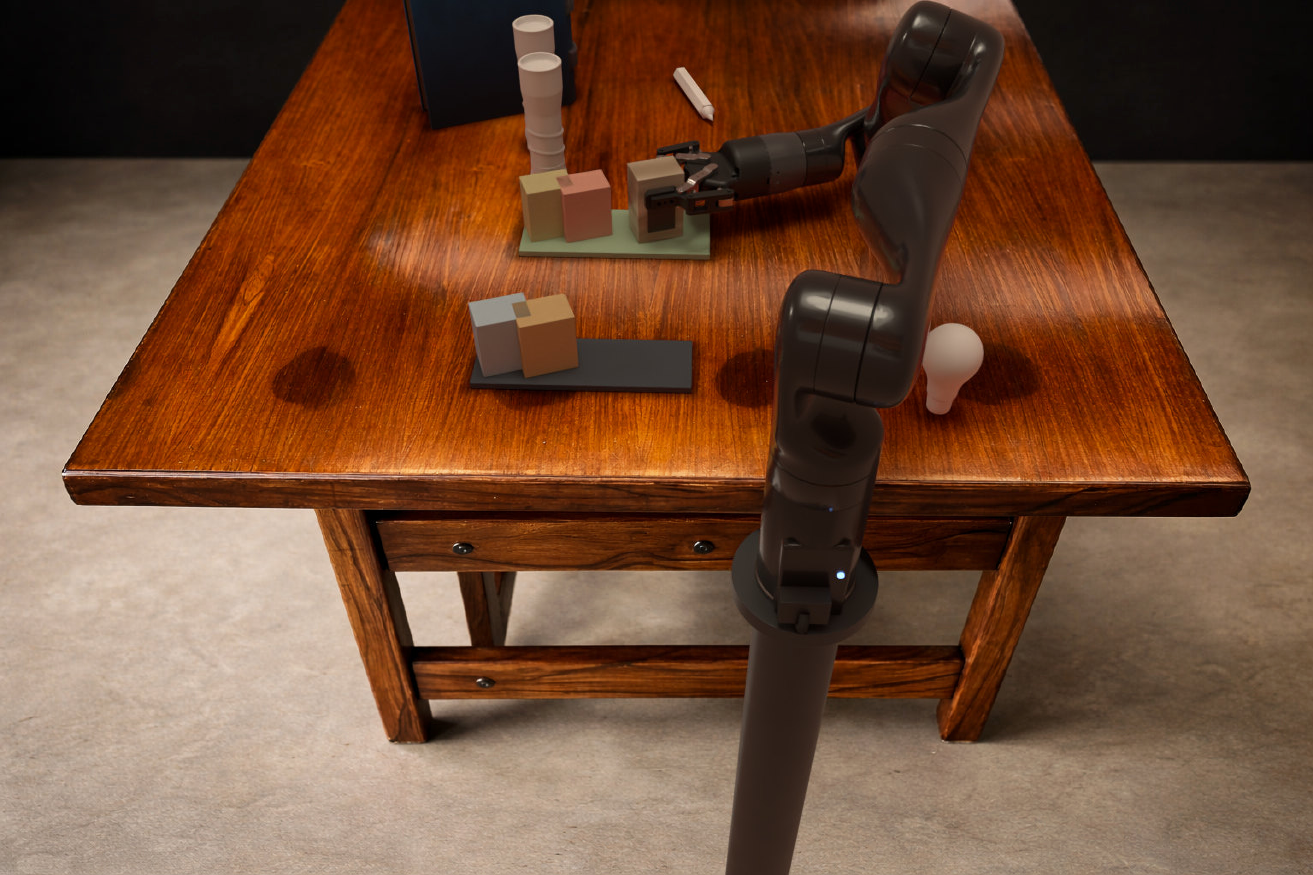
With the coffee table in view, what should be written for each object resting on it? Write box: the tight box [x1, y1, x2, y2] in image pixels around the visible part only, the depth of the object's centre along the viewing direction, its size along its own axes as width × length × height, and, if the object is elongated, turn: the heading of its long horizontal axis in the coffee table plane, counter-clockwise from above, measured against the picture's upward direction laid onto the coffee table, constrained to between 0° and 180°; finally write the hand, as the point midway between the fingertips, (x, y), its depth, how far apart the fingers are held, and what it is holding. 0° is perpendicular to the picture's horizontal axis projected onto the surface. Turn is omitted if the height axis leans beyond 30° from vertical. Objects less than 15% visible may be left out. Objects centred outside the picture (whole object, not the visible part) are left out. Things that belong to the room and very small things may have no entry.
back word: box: [518, 168, 711, 261], centre depth 129 cm, size 10×24×8 cm, turn 88°
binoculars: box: [512, 15, 568, 175], centre depth 138 cm, size 17×5×18 cm, turn 9°
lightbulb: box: [921, 322, 985, 415], centre depth 104 cm, size 6×6×11 cm
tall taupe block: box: [626, 155, 685, 244], centre depth 128 cm, size 5×6×9 cm
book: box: [402, 0, 579, 131], centre depth 148 cm, size 24×9×30 cm, turn 111°
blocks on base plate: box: [467, 292, 693, 394], centre depth 111 cm, size 8×24×8 cm, turn 88°
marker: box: [672, 66, 716, 122], centre depth 157 cm, size 3×2×16 cm
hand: (637, 187), depth 126 cm, fingers open, 6 cm apart
